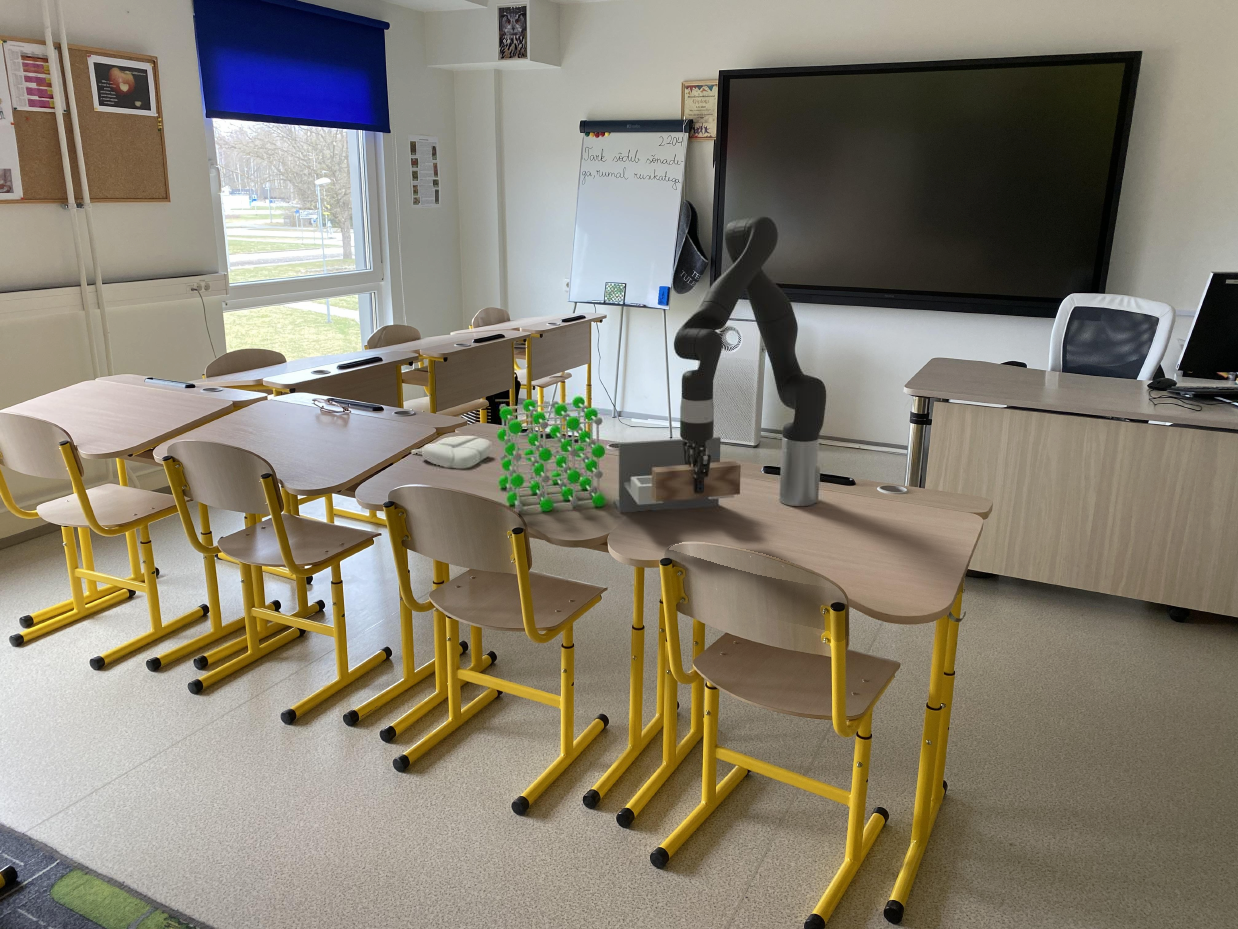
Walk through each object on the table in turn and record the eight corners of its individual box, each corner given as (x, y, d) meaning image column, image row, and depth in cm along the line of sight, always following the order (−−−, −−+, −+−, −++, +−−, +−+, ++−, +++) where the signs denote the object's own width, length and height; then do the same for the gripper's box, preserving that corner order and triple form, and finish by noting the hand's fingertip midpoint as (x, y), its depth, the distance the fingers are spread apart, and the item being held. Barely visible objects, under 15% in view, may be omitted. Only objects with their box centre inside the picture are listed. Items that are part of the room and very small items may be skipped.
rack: (709, 496, 242) (711, 430, 237) (737, 524, 222) (740, 453, 217) (613, 503, 237) (613, 436, 231) (633, 533, 217) (633, 460, 211)
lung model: (467, 470, 264) (396, 468, 274) (497, 456, 279) (429, 454, 289) (465, 448, 263) (393, 447, 272) (495, 435, 278) (426, 434, 288)
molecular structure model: (512, 516, 228) (509, 422, 221) (498, 486, 251) (494, 400, 244) (606, 508, 234) (606, 415, 227) (584, 479, 257) (583, 394, 250)
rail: (734, 489, 214) (735, 460, 212) (739, 494, 211) (740, 465, 209) (651, 496, 210) (651, 467, 208) (656, 501, 207) (656, 472, 205)
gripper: (723, 423, 199) (721, 498, 204) (703, 409, 212) (702, 479, 218) (690, 426, 198) (689, 501, 203) (672, 411, 211) (671, 482, 216)
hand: (695, 489), depth 210 cm, fingers closed on rail, 3 cm apart
